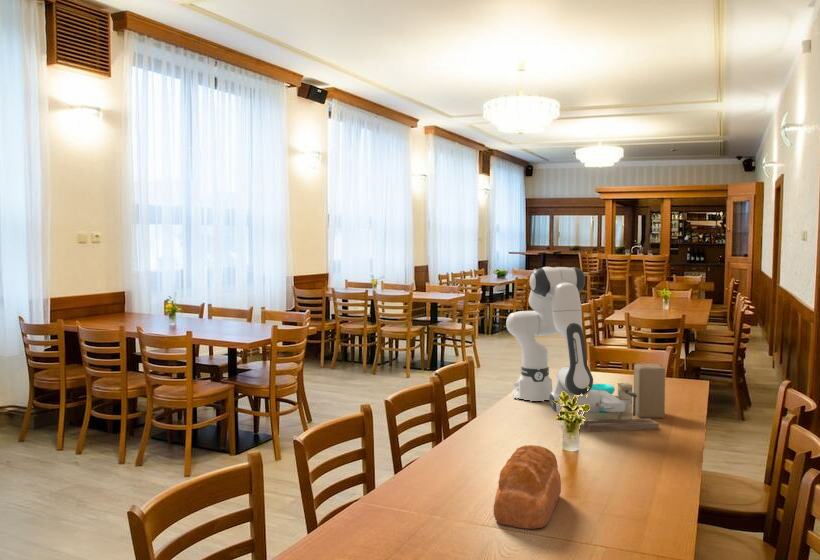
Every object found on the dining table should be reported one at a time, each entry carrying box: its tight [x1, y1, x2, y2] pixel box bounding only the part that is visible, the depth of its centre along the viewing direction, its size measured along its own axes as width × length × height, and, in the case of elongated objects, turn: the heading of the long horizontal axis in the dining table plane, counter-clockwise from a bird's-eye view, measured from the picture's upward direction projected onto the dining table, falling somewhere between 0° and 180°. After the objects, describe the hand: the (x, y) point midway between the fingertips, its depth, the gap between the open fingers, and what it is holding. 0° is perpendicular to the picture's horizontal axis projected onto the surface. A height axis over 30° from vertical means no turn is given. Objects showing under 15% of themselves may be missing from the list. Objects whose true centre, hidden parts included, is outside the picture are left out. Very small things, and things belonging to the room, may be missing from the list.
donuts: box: [590, 383, 616, 413], centre depth 277 cm, size 10×10×10 cm
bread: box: [493, 444, 562, 530], centre depth 177 cm, size 14×26×16 cm, turn 158°
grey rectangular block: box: [633, 363, 666, 419], centre depth 267 cm, size 10×10×20 cm
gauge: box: [617, 382, 637, 420], centre depth 255 cm, size 11×4×14 cm, turn 5°
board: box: [583, 418, 660, 432], centre depth 251 cm, size 7×26×2 cm, turn 95°
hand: (627, 400), depth 258 cm, fingers closed on gauge, 4 cm apart
